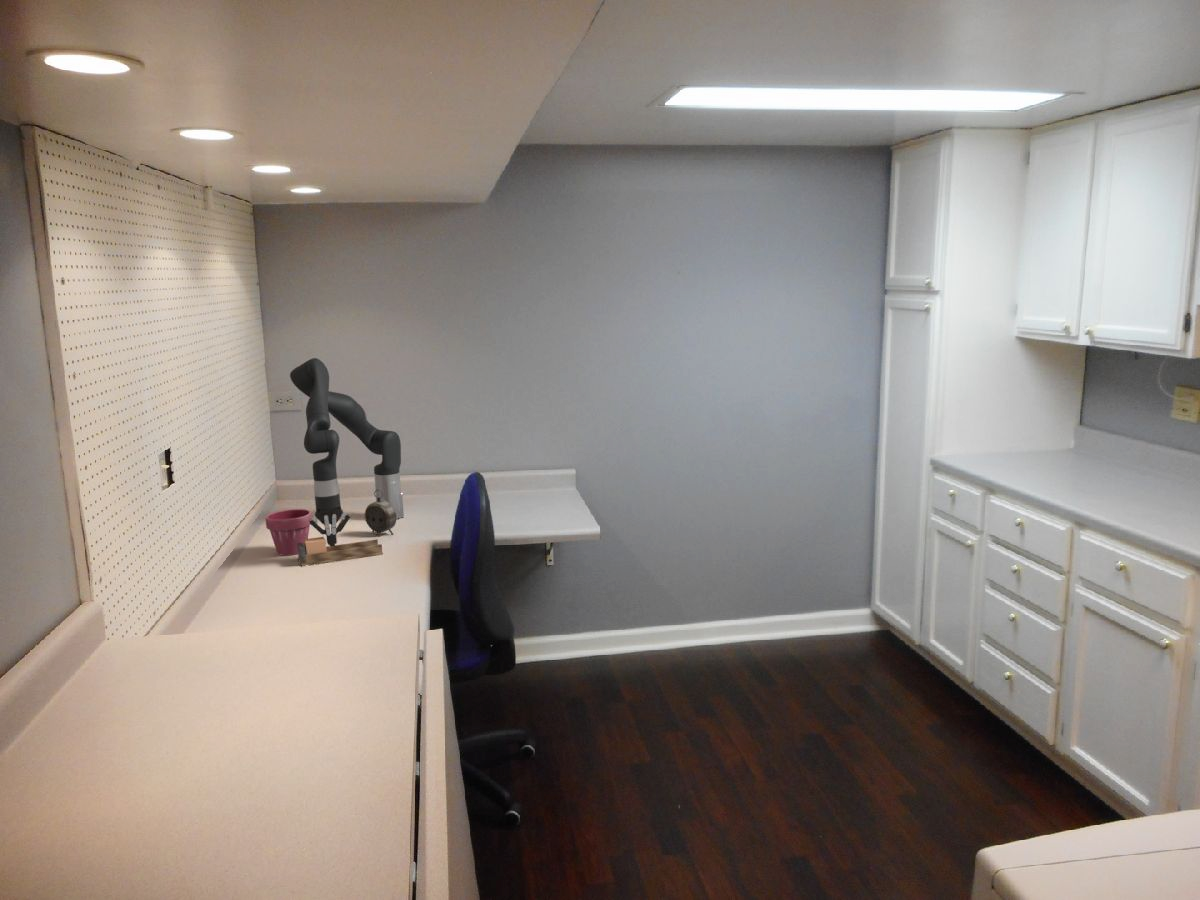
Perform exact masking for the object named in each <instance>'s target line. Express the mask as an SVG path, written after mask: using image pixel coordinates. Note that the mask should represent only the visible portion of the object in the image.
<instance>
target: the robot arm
mask: <svg viewBox="0 0 1200 900" xmlns="http://www.w3.org/2000/svg"><path fill="white" fill-rule="evenodd" d="M289 377H290V381H291V382H292V384H293V385H294V386H295V387H296V388H297V389H298V390H299V391H300V392H302V394H304V395H305V396H307V397H308V398H309V399H308V401H307V404H306V407H305V417H306V424H307V425H306V426H307V427H306V431H305V434H304V438H303V447H304V449H305V451H306V452H307V453H308V454H311V455H317V454H325V453H328V454H327V456H325V457H324V458H321V459H319V460H318V459H317V461H314V462H313V463H312V475H313V491H314V493H313V494H314V502H315V512H314V516H313V517H312V519H310V520H309V523H310V526H312V527H313V528H314V529H315V530H317V532H318V533H320V534H321V535H325V536H326V544H327V546H330V547H331V546H335V545H337V543H338V540H337V539H338V538H337V534H338V533H340V532H342V531H343V530H344V527H345V526H346V525H347V523H348V521H349V520H350V518H351V516H350V515H349V514H348V513H345V512H344V510H343V509H342V506H341V497H340V495H341V494H340V486H339V485H340V484H339V481H338V473H337V457H338V451H339V446H340V436H339V433H338V432H337V431H336V430H334V429H330V428H331V417H330V415H331V416H332V417H333V418H334V419H336V420H337V422H339V423H340V424H341V425H343V426H344V427H345V428H346V429H347V430H349V431H350V432H351V433H352V434H353V435H354V436H356V437H357V438H358V439H359V440H360V442H362V444H363V445H364V446H365V447H366V449H368V450H369V451H370V452H371V453H372V454H375V455H378V456H379V455H380V456H382V457H381V462H380V463H379V464H376V465H375V466H374V467H373V471H374V472H373V474H374V475H373V476H374V487H375V488H374V489H375V491H376V490H377V489H379V490H381V491H382V493H381V492H380V491H379V490H377V491H376V492H375V495H376V497H377V498H378V497H380V500H385V501H387V502H389V503H390V504H391V505H392V506H393V508H394V510H395V512H396V520H399V519H401V517H403V518H404V517H405V513H404V498H403V492H402V491H401V490H402V487H401V475H400V474H401V473H400V468H401V464H402V444H401V438H400V435H399V434H398V433H397V432H396V431H392V430H385V429H384V430H383V429H379V428H377V427H375V426H374V425H372V424H371V423H370V422H369V421H368V420H367V419H368V418H367V414H366V411H365V409H364V407H362V405H360V403H358V402H357V401H356V400H355V399H354V398H353V397H352V396H350V395H348V394H345V393H342V392H335V391H331V390H330V373H329V370H328V368H327V366H326V365H325V363H324V362H323V361H322V360H321V359H319V358H317V357H313V358H310V359H308V360H306V361H305V362H303V363H301V364H300V365H299V366H295V368H293V369H292V370H291V371H290V373H289ZM382 494H383V495H382ZM381 496H382V497H381ZM376 497H375V502H376V501H378V499H377V498H376ZM398 518H399V519H398ZM340 519H341V520H340ZM318 521H319V522H320V523H321V524H322V525H323V526H324V529H323V528H322V527H321V526H320V525H319V524H318V523H319V522H318ZM338 521H339V523H338ZM337 523H338V525H337Z"/></svg>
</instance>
